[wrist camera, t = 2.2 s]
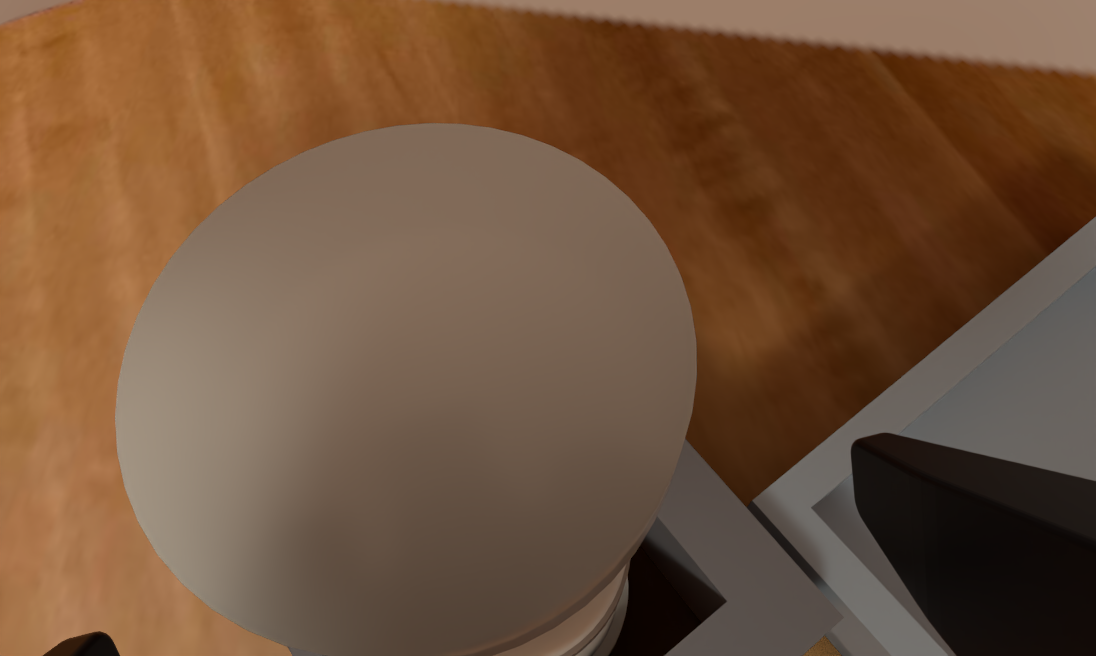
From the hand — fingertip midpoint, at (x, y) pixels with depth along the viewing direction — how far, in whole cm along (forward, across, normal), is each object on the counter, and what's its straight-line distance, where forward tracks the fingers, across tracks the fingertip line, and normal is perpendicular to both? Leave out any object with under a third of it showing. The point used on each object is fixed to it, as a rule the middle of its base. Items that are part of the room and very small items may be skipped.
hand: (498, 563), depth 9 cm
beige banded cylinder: (+6, 0, +6) cm, 8 cm away
